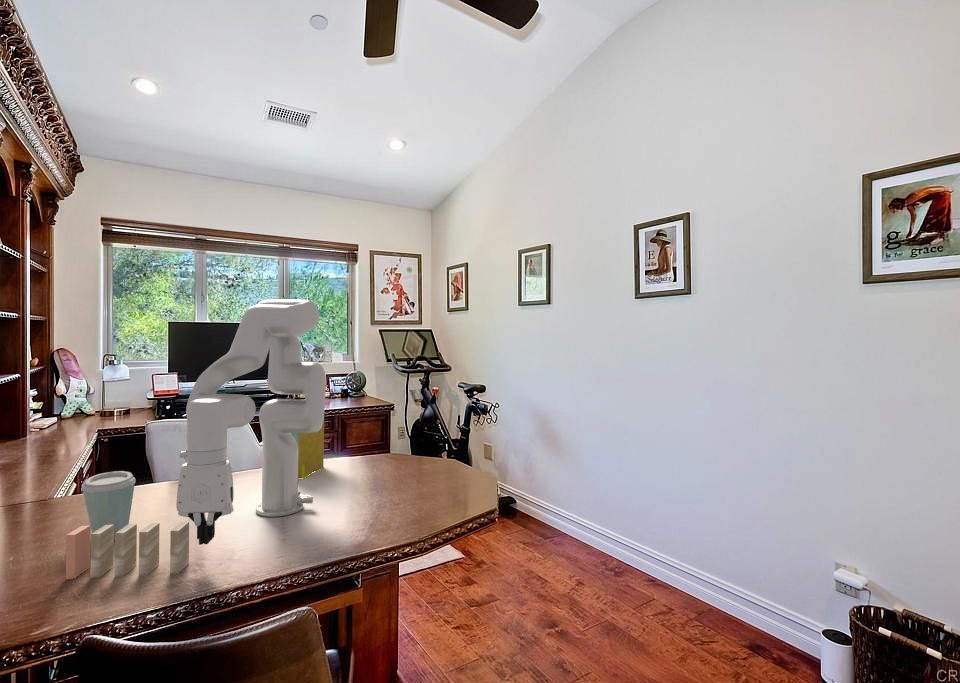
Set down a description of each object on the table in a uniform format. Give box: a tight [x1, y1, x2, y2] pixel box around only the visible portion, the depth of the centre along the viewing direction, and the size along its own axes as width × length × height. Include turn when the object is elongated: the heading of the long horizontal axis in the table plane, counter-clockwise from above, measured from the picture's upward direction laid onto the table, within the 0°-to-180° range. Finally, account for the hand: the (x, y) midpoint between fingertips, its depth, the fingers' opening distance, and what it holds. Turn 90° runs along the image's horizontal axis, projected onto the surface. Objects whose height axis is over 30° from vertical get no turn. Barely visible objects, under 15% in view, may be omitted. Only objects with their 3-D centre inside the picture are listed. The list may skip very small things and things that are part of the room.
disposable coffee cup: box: [81, 470, 137, 541], centre depth 121 cm, size 11×11×15 cm
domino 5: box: [169, 521, 190, 575], centre depth 106 cm, size 2×5×9 cm, turn 8°
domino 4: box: [138, 522, 161, 577], centre depth 105 cm, size 2×5×9 cm, turn 8°
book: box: [291, 419, 325, 479], centre depth 181 cm, size 17×7×25 cm, turn 168°
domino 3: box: [114, 523, 138, 578], centre depth 104 cm, size 2×5×9 cm, turn 8°
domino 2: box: [89, 525, 115, 579], centre depth 103 cm, size 2×5×9 cm, turn 9°
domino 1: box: [65, 525, 92, 580], centre depth 103 cm, size 2×5×9 cm, turn 9°
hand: (205, 541), depth 106 cm, fingers closed
